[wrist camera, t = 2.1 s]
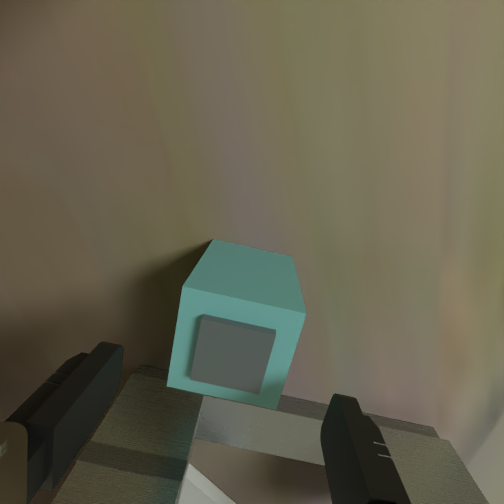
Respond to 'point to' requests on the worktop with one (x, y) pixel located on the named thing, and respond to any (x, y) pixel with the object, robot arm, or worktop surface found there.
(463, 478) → the rail
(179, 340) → the block
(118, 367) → the robot arm
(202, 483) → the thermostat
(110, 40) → the worktop surface
